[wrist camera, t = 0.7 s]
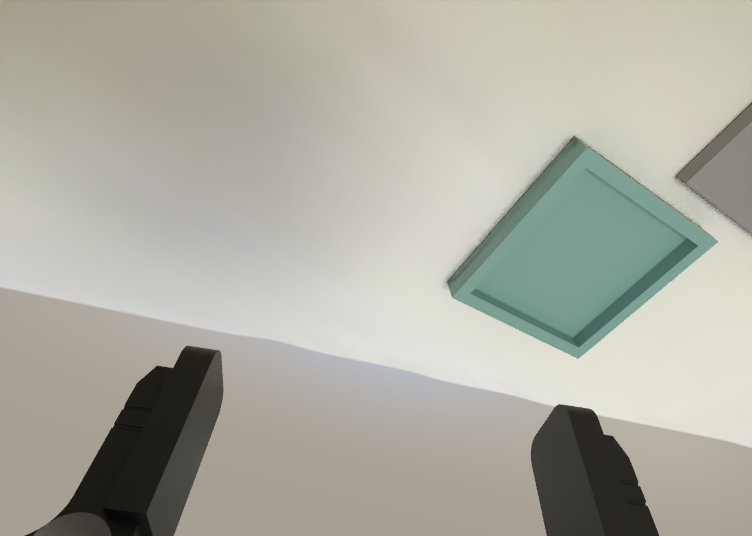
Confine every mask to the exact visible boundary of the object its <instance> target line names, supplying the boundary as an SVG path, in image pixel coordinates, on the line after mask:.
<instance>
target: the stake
mask: <svg viewBox="0 0 752 536" xmlns="http://www.w3.org/2000/svg"><path fill="white" fill-rule="evenodd" d="M676 177H678V178H679V179H680V180H682V181H683V182H684V183H685V184H687V185H688V186H689V187H691V188H692V189H693V190H695V191H696V192H697V193H699V194H700V195H701V196H703V197H704V198H705V199H707V200H708V201H709V202H710V203H712V204H713V205H714V206H716V207H717V208H718V209H720V210H721V211H722V212H724V213H725V214H726V215H728V216H729V217H730V218H732V219H733V220H734V221H735V222H737V223H738V224H739V225H741V226H742V227H743V228H745V229H746V230H747V231H749V232H750V233H751V234H752V104H751V105H750V106H749V107H747V108H746V109H745V110H744V111H743V112H742V113H741V114H740V115H739V116H738V117H737V118H736V119H735V120H734V121H733V122H732V123H731V124H730V125H729V126H728V127H727V128H726V129H724V130H723V131H722V132H721V133H720V134H719V135H718V136H717V137H716V138H715V139H714V140H713V141H712V142H711V143H710V144H709V145H708V146H707V147H706V148H705V149H704V150H703V151H702V152H700V153H699V154H698V155H697V156H696V157H695V158H694V159H693V160H692V161H691V162H690V163H689V164H688V165H687V166H686V167H685V168H684V169H683V170H682V171H681V172H680V173H679V174H677V175H676Z"/></svg>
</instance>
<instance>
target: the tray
mask: <svg viewBox="0 0 752 536" xmlns="http://www.w3.org/2000/svg"><path fill="white" fill-rule="evenodd" d="M717 242H718V241H717V240H716V239H714V238H713V237H712V236H711V235H710V234H708V233H707V232H706V231H705V230H704V229H702V228H701V227H700V226H698V225H697V224H696V223H694V222H693V221H691V220H690V219H689V218H687V217H686V216H684V215H683V214H682V213H680V212H679V211H677V210H676V209H675V208H673V207H672V206H671V205H669V204H668V203H666V202H665V201H664V200H662V199H661V198H659V197H658V196H657V195H655V194H654V193H653V192H651V191H650V190H648V189H647V188H646V187H644V186H643V185H641V184H640V183H639V182H637V181H636V180H634V179H633V178H632V177H630V176H629V175H628V174H626V173H625V172H623V171H622V170H621V169H619V168H618V167H616V166H615V165H614V164H612V163H611V162H609V161H608V160H607V159H605V158H604V157H603V156H601V155H600V154H598V153H597V152H596V151H594V150H593V149H591V148H590V147H589V146H587V145H586V144H585V143H583V142H582V141H580V140H579V139H578V138H576V137H575V136H574V137H573V139H572V140H571V141H570V142H569V143H568V144H567V146H566V147H565V148H564V149H563V150H562V151H561V152H560V154H559V155H558V156H557V157H556V158H555V159H554V160H553V162H552V163H551V164H550V165H549V166H548V167H547V168H546V170H545V171H544V172H543V173H542V174H541V175H540V176H539V178H538V179H537V180H536V181H535V182H534V183H533V184H532V186H531V187H530V188H529V189H528V190H527V191H526V192H525V194H524V195H523V196H522V197H521V198H520V199H519V200H518V202H517V203H516V204H515V205H514V206H513V207H512V208H511V210H510V211H509V212H508V213H507V214H506V215H505V217H504V218H503V219H502V220H501V221H500V222H499V223H498V225H497V226H496V227H495V228H494V229H493V230H492V231H491V233H490V234H489V235H488V236H487V237H486V238H485V239H484V241H483V242H482V243H481V244H480V245H479V246H478V247H477V249H476V250H475V251H474V252H473V253H472V254H471V255H470V257H469V258H468V259H467V260H466V261H465V262H464V263H463V265H462V266H461V267H460V268H459V269H458V270H457V271H456V273H455V274H454V275H453V276H452V277H451V278H450V279H449V281H448V285H449V289H450V292H451V295H452V298H454V299H456V300H458V301H460V302H462V303H464V304H467V305H469V306H471V307H473V308H475V309H477V310H479V311H481V312H483V313H485V314H487V315H489V316H491V317H493V318H495V319H497V320H500V321H502V322H504V323H506V324H508V325H510V326H512V327H514V328H516V329H518V330H520V331H522V332H524V333H526V334H528V335H531V336H533V337H535V338H537V339H539V340H541V341H543V342H545V343H547V344H549V345H551V346H553V347H555V348H557V349H559V350H561V351H564V352H566V353H568V354H570V355H572V356H574V357H576V358H578V359H579V358H580V357H581V356H582V355H583V354H584V353H586V352H587V351H588V350H589V349H590V348H592V347H593V346H594V345H595V344H596V343H598V342H599V341H600V340H601V339H602V338H604V337H605V336H606V335H607V334H608V333H610V332H611V331H612V330H613V329H614V328H616V327H617V326H618V325H619V324H620V323H622V322H623V321H624V320H625V319H626V318H628V317H629V316H630V315H631V314H632V313H634V312H635V311H636V310H637V309H638V308H640V307H641V306H642V305H643V304H644V303H645V302H647V301H648V300H649V299H650V298H651V297H653V296H654V295H655V294H656V293H657V292H659V291H660V290H661V289H662V288H663V287H665V286H666V285H667V284H668V283H669V282H671V281H672V280H673V279H674V278H675V277H677V276H678V275H679V274H680V273H681V272H683V271H684V270H685V269H686V268H687V267H689V266H690V265H691V264H692V263H693V262H695V261H696V260H697V259H698V258H699V257H701V256H702V255H703V254H704V253H705V252H706V251H708V250H709V249H710V248H711V247H712V246H714V245H715V244H716V243H717Z"/></svg>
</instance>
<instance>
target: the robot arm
mask: <svg viewBox="0 0 752 536" xmlns="http://www.w3.org/2000/svg"><path fill="white" fill-rule="evenodd" d="M222 377H223V376H222V360H221V352H220V351H219V350H212V349H206V348H199V347H193V346H186V347H185V348H184V349H183V350H182V352H181V354H180V356H179V358H178V360H177V362H176V364H175V366H174V368H168V367H162V366H156V367H155V368H154V369H153V370H152V371H151V372H149V373H148V374H147V375H146V376H145V377H144V378H143V379H141V380H140V381H139V382H138V383H137V384H136V386H135V388H134V390H133V391H132V393H131V395H130V397H129V398H128V400H127V402H126V404H125V407H124V409H123V410H122V411H121V412H120V414H119V416H118V418H117V420H116V421H115V423H114V427H113V428H111V430H110V432H109V434H108V435H107V437H106V439H105V441H104V443H103V444H102V446H101V448H100V450H99V451H98V453H97V455H96V457H95V458H94V460H93V462H92V464H91V466H90V468H89V469H88V471H87V473H86V475H85V476H84V478H83V480H82V482H81V483H80V485H79V487H78V489H77V490H76V492H75V494H74V496H73V497H72V499H71V500H70V502H69V504H68V505H67V506H66V507H65V508H64V509H63V510H62V512H60V513H59V515H57V516H56V517H55V518H54V519H53V520H51V521H50V522H49V523H48V524H46V525H45V526H43V527H41V528H40V529H38V530H36V531H34V532H32V533H30V534H28V535H25V536H174V533H175V531H176V528H177V525H178V523H179V520H180V517H181V515H182V512H183V509H184V506H185V504H186V501H187V498H188V495H189V493H190V490H191V487H192V485H193V482H194V479H195V477H196V474H197V472H198V469H199V466H200V463H201V461H202V458H203V455H204V453H205V450H206V447H207V445H208V442H209V439H210V437H211V434H212V431H213V429H214V426H215V423H216V420H217V418H218V415H219V412H220V408H221V404H222V398H223V378H222ZM531 462H532V468H533V472H534V477H535V482H536V486H537V491H538V496H539V500H540V505H541V510H542V515H543V519H544V524H545V529H546V533H547V536H659V534H658V531H657V529H656V526H655V524H654V521H653V518H652V516H651V513H650V511H649V508H648V506H646V505H645V502H646V500H645V498H644V495H643V493H642V490H641V488H640V486H638V480H637V477H636V475H635V472H634V469H633V467H632V464H631V462H630V459H629V457H628V456H627V455H626V453H625V452H624V451H623V449H622V448H621V447H620V445H619V444H618V443H617V441H616V440H615V439H614V437H613V436H609V435H604V434H603V431H602V429H601V426H600V423H599V420H598V417H597V415H596V414H595V412H594V411H593V410H591V409H587V408H581V407H574V406H568V405H561V404H559V405H557V406H556V407H555V408H554V409H553V411H552V413H551V414H550V415H549V417H548V419H547V420H546V421H545V423H544V424H543V426H542V427H541V428H540V430H539V431H538V433H537V434H536V436H535V437H534V440H533V443H532V447H531Z"/></svg>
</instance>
